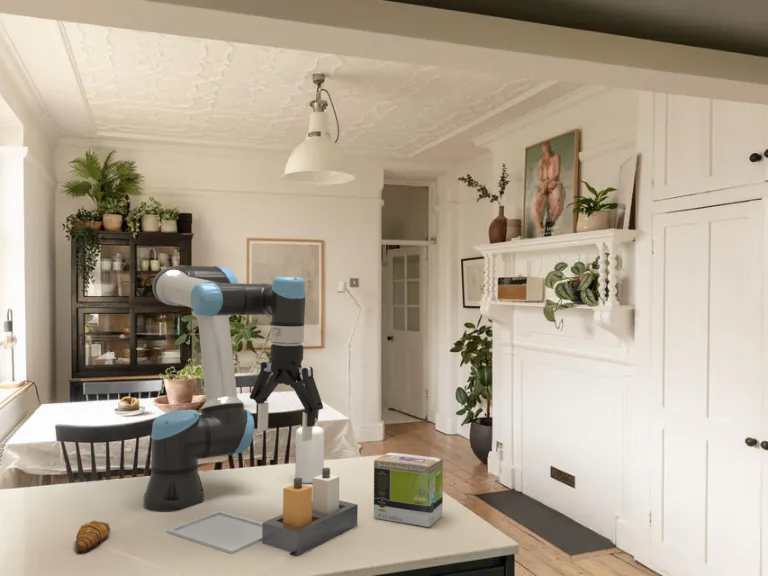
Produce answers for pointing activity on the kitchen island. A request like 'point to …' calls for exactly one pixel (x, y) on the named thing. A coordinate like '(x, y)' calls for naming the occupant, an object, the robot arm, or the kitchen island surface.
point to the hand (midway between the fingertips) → (284, 435)
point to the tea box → (408, 488)
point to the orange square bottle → (297, 504)
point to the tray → (221, 531)
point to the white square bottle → (325, 492)
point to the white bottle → (309, 454)
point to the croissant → (91, 535)
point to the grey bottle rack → (309, 529)
